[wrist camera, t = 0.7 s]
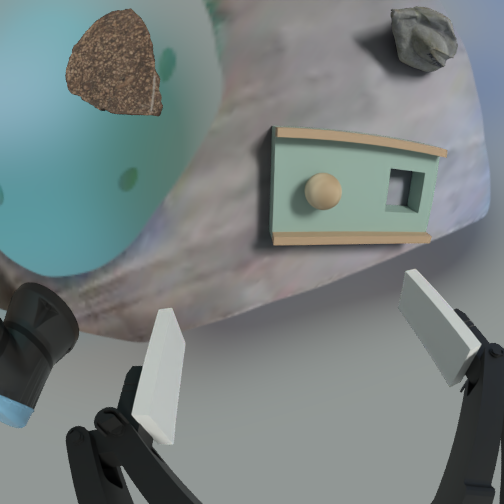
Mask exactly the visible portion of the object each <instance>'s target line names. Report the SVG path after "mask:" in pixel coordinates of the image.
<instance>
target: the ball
mask: <svg viewBox="0 0 504 504" xmlns="http://www.w3.org/2000/svg"><path fill="white" fill-rule="evenodd" d="M341 196H342V188H341V185H340V183H339V181H338V180H337V179H336V178H335V177H334V176H333V175H331V174H328V173H317V174H315V175H313V176H312V177H310V178H309V180H308V181H307V183H306V185H305V197H306V199H307V201H308V203H309V204H310V205H311V206H313V207H314V208H316V209H319V210H329V209H331V208H333V207H335V206H336V205H337V204H338V203H339V201H340V199H341Z"/></svg>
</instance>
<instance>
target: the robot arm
mask: <svg viewBox="0 0 504 504" xmlns="http://www.w3.org/2000/svg"><path fill="white" fill-rule="evenodd" d="M398 309H399V310H400V312H401V313H402V314H403V316H404V317H405V319H406V320H407V322H408V323H409V324H410V326H411V328H412V329H413V330H414V332H415V333H416V335H417V336H418V338H419V339H420V341H421V342H422V344H423V345H424V347H425V348H426V350H427V351H428V353H429V354H430V356H431V357H432V359H433V361H434V362H435V364H436V366H437V367H438V369H439V370H440V372H441V374H442V375H443V377H444V379H445V380H446V382H447V384H448V385H449V387H451V386H453V385H455V384H457V383H459V382H461V380H462V379H463V377H464V375H466V376H467V378H468V379H467V381H466V382H465V384H464V385H463V387H462V389H461V391H460V392H462V391H463V390H464V388H465V391H464V397H463V402H462V408H461V413H460V417H459V422H458V427H457V431H456V435H455V438H454V443H453V446H452V450H451V453H450V457H449V460H448V463H447V466H446V469H445V472H444V475H443V477H442V480H441V483H440V486H439V489H438V491H437V493H436V496H435V498H434V500H433V501H432V503H431V504H492V503H493V499H494V495H495V489H494V488H493V487H492V486H491V483H492V478H493V474H494V470H495V466H496V461H497V456H498V451H499V446H500V440H501V453H502V454H501V461H502V462H501V488H500V504H504V348H502V347H501V346H500V345H499V344H496V343H489V342H488V341H487V340H486V338H485V337H484V336H483V335H482V334H481V332H480V331H479V330H478V329H477V327H476V326H474V324H473V323H472V322H471V321H470V319H469V318H468V317H467V316H466V314H465V313H463V312H462V311H460V310H459V309H454V310H453V309H452V308H451V307H450V306H449V304H448V303H447V302H446V301H445V300H444V299H443V298H442V297H441V295H440V294H439V293H438V292H437V291H436V290H435V289H434V288H433V287H432V286H431V285H430V283H429V282H428V281H427V280H426V279H425V278H424V277H423V276H422V275H421V274H420V273H419V272H418V271H417V270H416V269H413V270H408V271H405V276H404V281H403V287H402V292H401V297H400V301H399V306H398ZM78 336H79V328H78V324H77V321H76V319H75V317H74V315H73V313H72V312H71V310H70V309H69V307H68V306H67V305H66V304H65V302H64V301H63V300H62V299H61V298H60V297H59V296H57V295H56V294H55V293H54V292H52V291H51V290H49V289H48V288H46V287H44V286H42V285H40V284H36V283H25V284H22V285H21V286H20V287H19V288H18V289H17V290H16V291H15V293H14V294H13V296H12V298H11V302H10V305H9V307H8V310H7V313H6V316H5V319H4V322H3V321H2V320H1V318H0V421H1V422H3V423H5V424H7V425H9V426H12V427H15V428H22V427H24V426H25V425H26V424H27V422H28V420H29V418H30V416H31V414H32V413H33V412H34V408H35V406H36V403H37V401H38V398H39V396H40V394H41V391H42V389H43V387H44V384H45V382H46V380H47V378H48V376H49V374H50V371H51V369H52V367H53V366H54V365H55V363H57V362H58V361H59V360H60V359H61V358H62V357H63V356H65V354H67V353H69V352H70V351H71V350H72V349H73V347H74V345H75V343H76V341H77V340H78ZM185 345H186V344H185V341H184V338H183V336H182V333H181V331H180V328H179V325H178V323H177V320H176V317H175V314H174V312H173V309H172V308H166V309H159V311H158V314H157V317H156V321H155V324H154V328H153V331H152V335H151V338H150V342H149V346H148V349H147V353H146V356H145V360H144V364H143V366H132V368H131V369H130V370H129V372H128V373H127V375H126V378H125V381H124V385H123V388H122V392H121V396H120V400H119V403H118V408H117V409H116V408H113V407H107V408H104V409H102V410H101V411H99V412H98V413H97V415H96V416H95V420H94V425H95V428H96V429H97V430H92V431H87V430H86V429H85V428H84V427H81V426H76V427H73V428H71V429H70V430H69V431H68V433H67V436H66V446H67V453H68V459H69V464H70V469H71V474H72V479H73V483H74V488H75V492H76V496H77V500H78V503H79V504H134V503H133V501H132V498H131V496H130V493H129V490H128V488H127V485H126V482H125V479H124V477H123V474H122V471H121V468H120V466H123V467H124V469H125V470H126V472H127V474H128V475H129V477H130V478H131V480H132V481H133V482H134V484H135V485H136V487H137V488H138V489H139V491H140V492H141V494H142V495H143V496H144V498H145V499H146V500H147V502H148V503H149V504H202V503H201V502H200V501H199V500H198V499H197V498H196V497H195V496H194V494H193V493H192V492H191V491H190V490H189V489H188V488H187V487H186V486H185V485H184V484H183V483H182V481H181V480H180V479H179V478H178V477H177V476H176V475H175V474H174V473H173V471H172V470H171V469H170V468H169V466H168V465H167V464H166V463H165V462H164V460H163V459H162V458H161V457H160V455H159V454H158V453H157V451H156V450H155V449H154V448H153V447H152V443H153V440H154V441H155V442H157V444H169V445H173V444H174V435H175V425H176V415H177V407H178V397H179V390H180V381H181V373H182V366H183V358H184V352H185Z"/></svg>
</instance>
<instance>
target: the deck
mask: <svg viewBox="0 0 504 504" xmlns="http://www.w3.org/2000/svg"><path fill="white" fill-rule="evenodd" d="M440 156H441V157H446V158H447V150H445V149H442V148H439V147H435V146H432V145H428V144H424V143H419V142H414V141H409V140H403V139H398V138H392V137H386V136H380V135H373V134H366V133H358V132H350V131H341V130H331V129H320V128H307V127H289V126H272V142H271V183H270V216H269V231H270V235H271V238H272V241H273V245H327V244H396V243H430V241H431V237H432V236H430V235H429V234H428V233H426V229H427V225H428V220H429V216H430V211H431V206H432V201H433V196H434V190H435V184H436V178H437V172H438V164H439V157H440ZM391 168H392V169H400V170H408V171H413V172H412V179H411V186H410V192H409V198H408V204H407V206H400V205H386V200H387V193H388V186H389V179H390V171H391ZM317 173H328V174H331V175H333V176H334V177H335V178H336V179H337V180H338V181H339V183H340V185H341V188H342V196H341V199H340V201H339V203H338V204H337V205H336V206H335V207H333V208H331V209H329V210H319V209H316V208H314V207H313V206H311V205H310V204H309V203H308V201H307V199H306V197H305V185H306V183H307V181H308V180H309V178H310V177H312V176H313V175H315V174H317Z"/></svg>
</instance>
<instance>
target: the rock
mask: <svg viewBox="0 0 504 504" xmlns="http://www.w3.org/2000/svg"><path fill="white" fill-rule="evenodd" d="M65 76H66V82H67V86H68V90H69V91H70V92H71V93H72V94H74V95H78V96H81V98H82V100H84V101H86V102H88V103H90V104H91V105H93V106H94V107H95V108H97V109H99V110H101V111H105V110H107V111H109V112H110V113H114V114H127V115H154V116H160V114H161V111H162V108H163V105H162V103H161V94H160V91H159V84H160V78H159V76H158V74H157V72H156V70H155V59H154V55H153V44H152V42H151V39H150V34H149V32H148V29H147V27H146V25H145V24H144V22H143V20H142V19H141V18H140V17H139V16H138V15H137V14H136V13H135V12H134V11H133V10H132V9H125V10H121V11H120V10H117V11H112V12H110V13H108V14H106V15H105V16H103V17H101V18H100V19H99V20H97V21H96V22H95V23H94V24H93V25H92V26H91V27H90V28H89V29H88V30H87V31H86V32H85V34H84V35H83V36H82V37H81V39H80V40H79V41H78V43H77V44H76V45H74V47H73V49H72V54H71V56H70V57H69V62H68V65H67V68H66V75H65Z"/></svg>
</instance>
